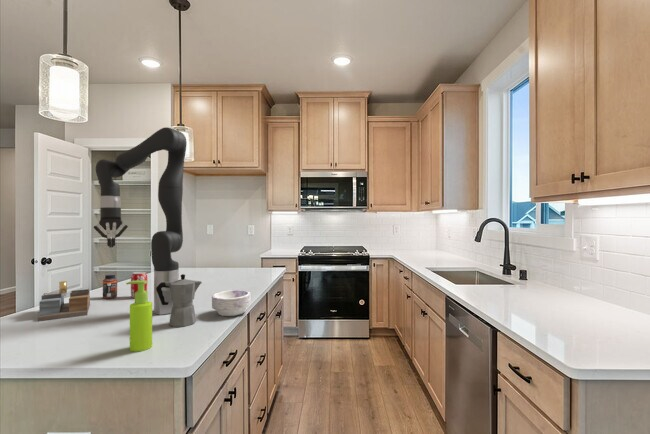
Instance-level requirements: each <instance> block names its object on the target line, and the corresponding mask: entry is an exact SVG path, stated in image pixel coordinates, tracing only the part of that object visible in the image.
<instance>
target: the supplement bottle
mask: <svg viewBox="0 0 650 434" xmlns="http://www.w3.org/2000/svg"><path fill="white" fill-rule="evenodd" d="M104 275H105V278H104V279H103V280H102V299H104V300H106V299H107V300H111V299H115V298H118V279H117V277H116V274H115V273H107V274H104Z"/></svg>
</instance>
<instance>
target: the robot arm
mask: <svg viewBox="0 0 650 434" xmlns="http://www.w3.org/2000/svg"><path fill="white" fill-rule="evenodd" d="M186 138H187V137H186V136H185V134H184V133H182V132H181V131H179V130H176V129H174V128H171V127H167V126H166V127H162V128H160V129H158V130H157V131H156V132H154V133H152V134H151V135H150V136H148V137H147V138H146V139H145V140H144V141H141V142H140V143H139V144H137V145H136V146H133V147H132V148H130V149H128V150H126V151H123V152H121V153H119V154H118V155H117V156H116V157H115V161H114V160H110V159H100V160H98V161H97V163H96V164H95V174H96V177H97V181H98V183H99V186H100V200H99V207H100V208H99V210H100V211H99V215H100V218H99V219H100V220H99V222H98V224H96V225H94V226H93V229H94V230H95V232H97V233H98V234H99V235H100V237H102V238H104V239H107V243H106V244H107V247H109V248H114V247H115V246H116V239H117V238H119V237H121V235H122V234H123V233H124V232H125V231H126V230H127V228H128V227H129V225H128V224H125V223H124V222H123V220H122V201H121V186H120V184H119V183H117V182H115V181H114V180H113V179H114V178H120V177H122V176H124V175H125V174H127V172H129V171H130V170H131V169H133V168H136V167H137V166H139V165H141V164H143V163H144V162H145V161H146V160H148V158H149V156H151V154H154V153H156V152H159V151H167V165H166V166H165V169H164V171H163V172H162V175H161V176H160V178H159V182H158V185H157V186H158V189H157V199H158V202H159V206H160V208H161V209H162V212H163V214H164V216H165V222H166V225H165V226H166V227H165V230H161V231H157V232H155V233H154V234H153V236H152V237H151V242H150V249H151V250H150V251H151V252H150V253H151V263H152V265H153V313H154V314H155V315H160V316H162V315H167V314H171V310H172V307H173V302H172V300H171V293H170V288H165V287H163V288H161V290H162V292H163V296H164V301H165V302H169V303H168V305H162V303H161V301H160V298H159V296H158V293H157V291H156V288H157V286H158V285H159V284H160V283H161V282H174V281H177V280H180V279H179V274H180V272H179V266H180V265H179V262H178V261H176V260H173V258H172V253H176V252H178V251H180V250H181V248H182V247H183V243H184V242H183V241H184V238H183V237H184V233H183V222H182V221H183V220H182V219H183V216H182V215H183V213H182V212H183V193H184V192H183V191H184V189H183V187H184V186H183V183H184V181H183V180H184V168H185V158H186V151H187V145H188V144H187V139H186ZM101 227H102V228H103V230H104V231H106V234H105V233H104V232H103V231H102V230H101ZM119 228H121V229H120V230H119V232H116V231H118V229H119ZM116 233H117V234H116Z"/></svg>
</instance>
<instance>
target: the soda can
mask: <svg viewBox="0 0 650 434" xmlns="http://www.w3.org/2000/svg"><path fill="white" fill-rule="evenodd" d="M136 280H143V281H147V283H146V284H144V290H145V291H147V292H148V274H147V272H146V271H134V272H132V275H131V277H130V282H131V281H136ZM137 291H138V284H130V296H131V298H133V299H135V292H137Z"/></svg>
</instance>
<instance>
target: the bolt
mask: <svg viewBox="0 0 650 434" xmlns="http://www.w3.org/2000/svg"><path fill="white" fill-rule="evenodd" d="M67 290H68V281H67V280H64V281H63V280H62V281H59V291H55V292H56V293H53V292H44V293H45V294H44V293H43V295H53V294H61V297H64V298H65V297H67V295H68V294H67V292H68V291H67Z"/></svg>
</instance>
